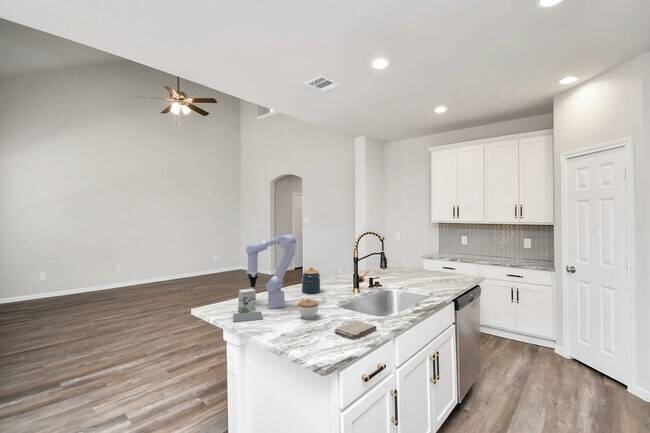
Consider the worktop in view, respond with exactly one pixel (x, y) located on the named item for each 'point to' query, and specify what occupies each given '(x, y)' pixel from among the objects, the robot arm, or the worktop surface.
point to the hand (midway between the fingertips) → (252, 286)
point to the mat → (247, 316)
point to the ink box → (247, 300)
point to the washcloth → (355, 330)
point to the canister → (311, 281)
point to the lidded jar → (308, 308)
